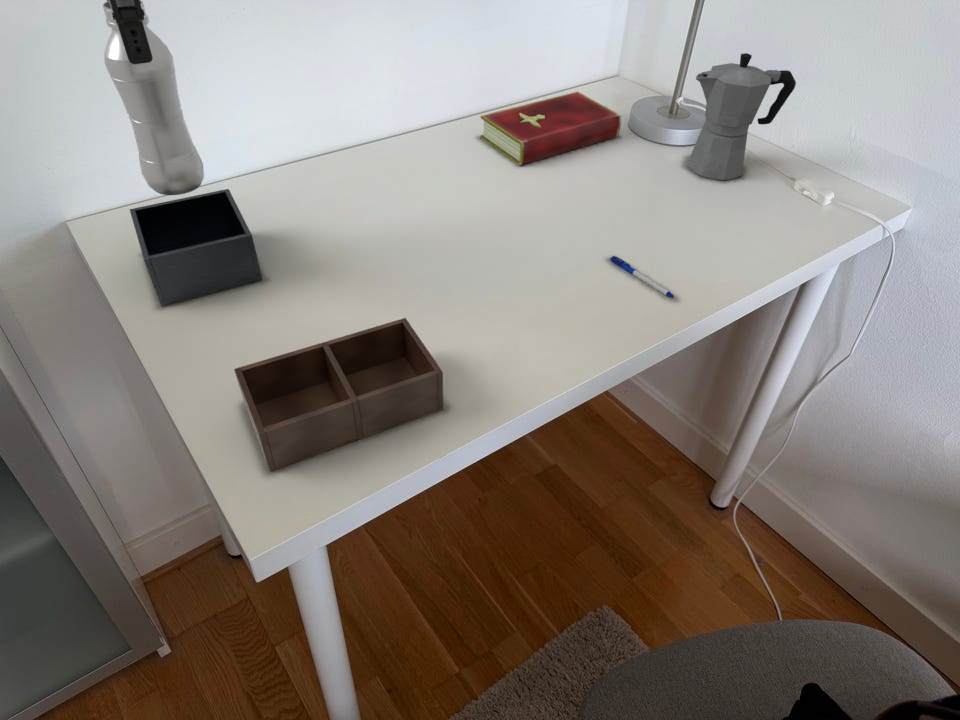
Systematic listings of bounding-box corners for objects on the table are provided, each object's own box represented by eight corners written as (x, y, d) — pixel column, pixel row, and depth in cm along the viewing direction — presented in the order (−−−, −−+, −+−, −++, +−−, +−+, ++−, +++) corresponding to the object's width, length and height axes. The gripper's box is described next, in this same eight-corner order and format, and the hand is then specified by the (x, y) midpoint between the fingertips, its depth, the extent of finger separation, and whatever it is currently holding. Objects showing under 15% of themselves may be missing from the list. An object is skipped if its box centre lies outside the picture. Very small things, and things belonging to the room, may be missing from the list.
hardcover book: (618, 137, 120) (622, 114, 117) (520, 166, 111) (522, 142, 108) (575, 112, 127) (578, 89, 124) (480, 137, 118) (480, 114, 115)
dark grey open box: (161, 306, 82) (143, 259, 78) (145, 254, 90) (129, 209, 86) (262, 280, 87) (251, 234, 82) (239, 233, 95) (228, 188, 90)
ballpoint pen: (608, 261, 92) (609, 255, 91) (612, 259, 93) (613, 253, 92) (670, 299, 86) (672, 293, 86) (675, 297, 87) (676, 290, 86)
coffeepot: (682, 181, 109) (711, 65, 96) (667, 154, 115) (693, 42, 103) (777, 181, 109) (818, 66, 97) (757, 154, 116) (793, 43, 104)
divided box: (269, 471, 65) (258, 434, 61) (245, 406, 71) (233, 368, 67) (443, 409, 71) (443, 372, 68) (407, 354, 77) (405, 317, 74)
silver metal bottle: (198, 203, 78) (145, 15, 65) (139, 201, 78) (73, 12, 65) (215, 176, 83) (169, -5, 69) (159, 174, 83) (102, -7, 69)
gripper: (23, -162, 62) (90, 35, 73) (30, -139, 53) (105, 82, 64) (112, -164, 65) (163, 26, 76) (134, -143, 55) (188, 70, 67)
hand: (136, 51), depth 70 cm, fingers closed on silver metal bottle, 6 cm apart
